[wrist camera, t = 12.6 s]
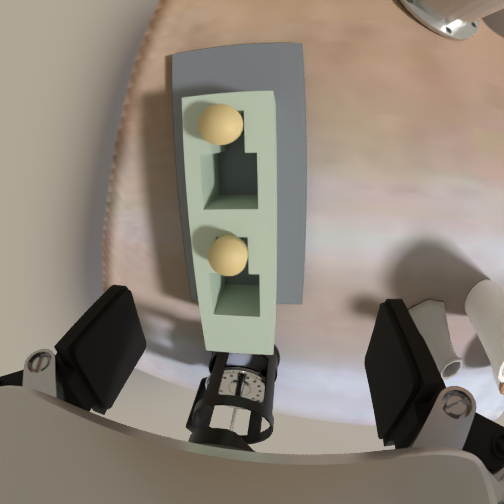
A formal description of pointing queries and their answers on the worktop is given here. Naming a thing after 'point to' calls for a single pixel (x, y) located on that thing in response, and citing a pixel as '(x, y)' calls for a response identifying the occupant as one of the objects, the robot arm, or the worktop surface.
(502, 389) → the lidded jar
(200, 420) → the french press
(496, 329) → the foam cup
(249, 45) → the board
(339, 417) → the worktop surface
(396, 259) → the worktop surface
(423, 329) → the flask
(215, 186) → the pale green slotted holder
